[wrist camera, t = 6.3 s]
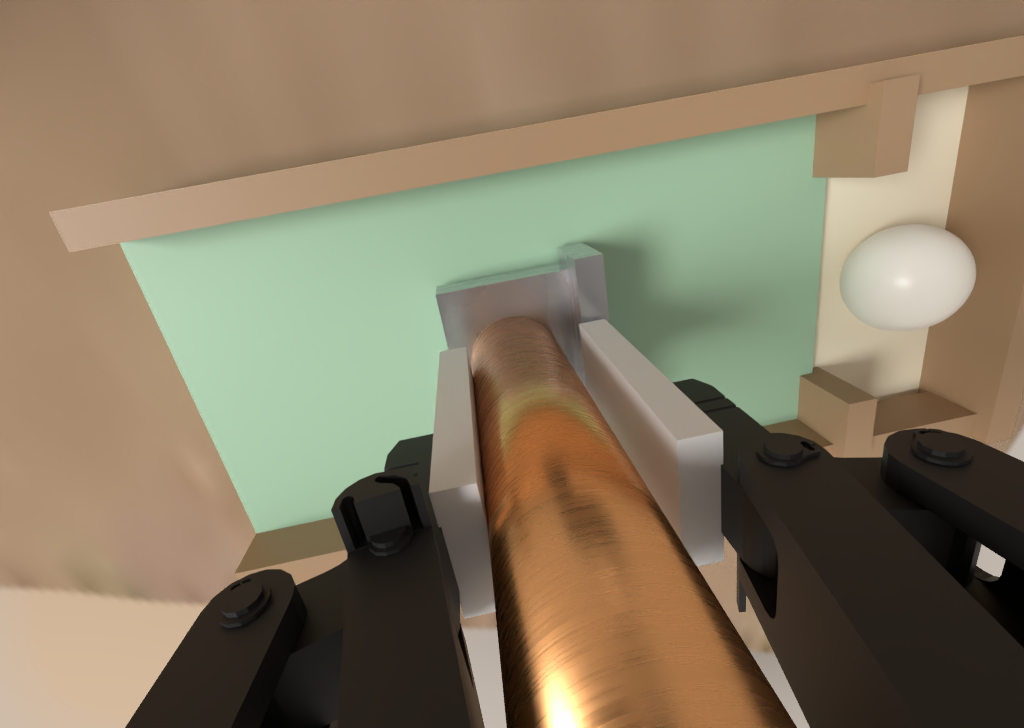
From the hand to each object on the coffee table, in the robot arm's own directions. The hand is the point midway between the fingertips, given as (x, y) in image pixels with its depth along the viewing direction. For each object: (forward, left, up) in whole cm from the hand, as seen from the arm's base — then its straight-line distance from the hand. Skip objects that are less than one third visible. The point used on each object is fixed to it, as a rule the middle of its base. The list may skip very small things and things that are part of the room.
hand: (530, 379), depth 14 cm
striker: (0, 0, -3) cm, 3 cm away
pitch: (0, +3, -4) cm, 5 cm away
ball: (0, +13, -2) cm, 13 cm away
